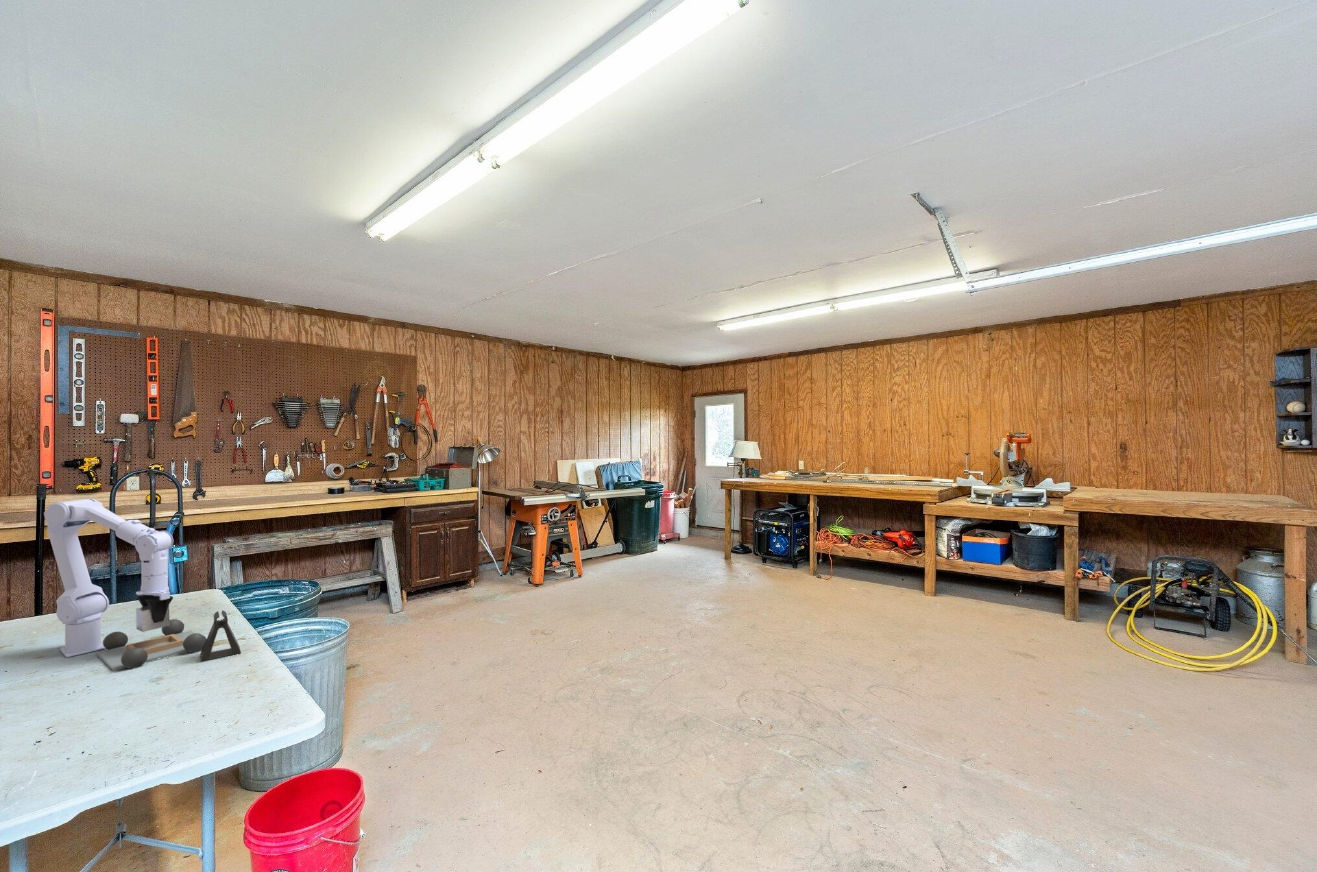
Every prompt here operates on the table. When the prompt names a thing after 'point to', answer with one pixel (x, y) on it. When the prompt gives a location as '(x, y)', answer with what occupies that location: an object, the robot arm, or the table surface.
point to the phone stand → (208, 645)
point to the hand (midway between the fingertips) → (155, 620)
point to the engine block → (149, 619)
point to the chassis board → (149, 646)
